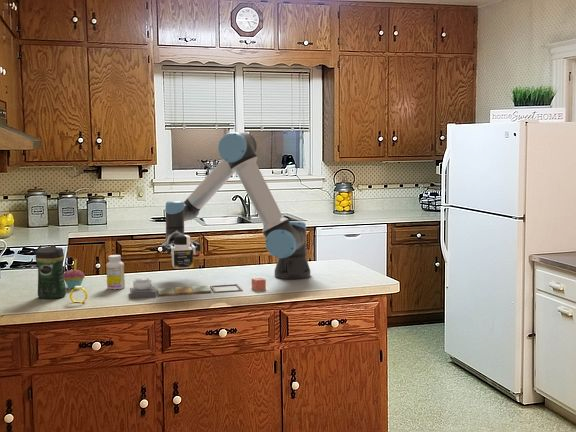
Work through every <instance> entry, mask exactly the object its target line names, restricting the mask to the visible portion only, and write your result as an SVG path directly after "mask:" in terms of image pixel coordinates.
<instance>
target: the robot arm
mask: <svg viewBox="0 0 576 432" xmlns="http://www.w3.org/2000/svg"><path fill="white" fill-rule="evenodd" d="M218 142H219V143H218V147H217V148H218V149H217V150H218V154H219V156H220V157H221V158H222V159H221V161H219V163H217V165H216V166H215V167H214V168H213V169H212V170H211V171H210V172H209V173H208V175H207V176H205V178H204V179H203V180H202V181H201V182H200V184H198V186H196V188H195V189H194V190H193V191H192V192H191V193H190V194H189V196H188V197H187V198H185V200H184V201H182V200H168V201H166V202H165V210H164V212H165V239H164V240H165V241H162V242H161V252H162V253H167V255H171V257H172V256H174V248H173V247H175V246H174V236H176V235H185V222H187V221H192V220H194V219H195V218H197V217H198V215H199V214H200V211H201V210H202V208H204V206H205V205H206V204H207V203H208V202H209V201H210V200H211V199H212V197H214V196H215V194H216V193H218V191H220V189H221V188H222V187H223V186H224V185H225V184H226V182H227V181H229V179H230V178H232V176H233V175H234V174H235V173H236V174H237V176H238V177H239V180H240V182H241V184H242V186H243V188H244V189H245V191H246V193H247V196H248V197H249V200H250V201H251V202H250V203H251V205H252V206H253V208H254V209H255V211H256V213H257V215H258V218H259V220H260V222H261V224H262V225H263V226H262V227H263V228H262V230H261V231H262V235H263V236H264V239H265V248H266V250H267V252H268V253H269V254H270V255H271V256H272V257H274V258H277V262H276V265H275V268H274V277H275V278H278V279H283V280H301V279H307V278H310V277H311V269H310V265H309V262H308V259H307V224H306V222H303V221H290V219H289V218H287V217H285V216H283V214H282V212H281V210H280V208H279V206H278V204H277V202H276V200H275V198H274V196H273V194H272V192H271V190H270V188H269V186H268V183H267V182H266V180H265V178H264V176H263V174H262V172H261V170H260V168H259V166H258V163H257V161H258V159H259V158H258V155H257V154H256V153H257V150H258V144H257V140H256V139H255V137H254V136H253V135H252V134H251V133H248V132H245V131H243V132H242V131H241V132H240V131H239V132H238V131H232V132H227V133H226V134H224V135H223V136H222V137H221V138H220V140H219V141H218ZM190 247H191V248H192V249H193V256H194V255H196V252H200V251H201V248H202V247H201V243H199V242H198V241H197V240H193V241H191V242H190Z"/></svg>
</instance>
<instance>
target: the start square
mask: <svg viewBox="0 0 576 432" xmlns="http://www.w3.org/2000/svg"><path fill="white" fill-rule="evenodd" d="M231 286H232V287H233V286H236V287H237V288H238V289H232V290H231V289H230V290H215V289H214V288H218V287H219V288H220V287H231ZM209 287H210V290H212V292H213V293H214V294H216V293H218V294H219V293H231V292H233V293H234V292H243V288H241V286H240V285H239V284H238V283H234V284H232V283H231V284H217V285H210V286H209Z"/></svg>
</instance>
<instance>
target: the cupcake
mask: <svg viewBox="0 0 576 432" xmlns="http://www.w3.org/2000/svg"><path fill="white" fill-rule="evenodd" d="M77 261H78V260H77V259H74V266H73V267H74V269H68V270H67V271H63V274H64V281H65V285H66V288H68V289H69V288H74V287H75V286H82V283H83V281H84V279H85V277H86V276H85V273H84V272H83V271H82V270H80V269H77Z"/></svg>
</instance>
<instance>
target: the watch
mask: <svg viewBox="0 0 576 432" xmlns="http://www.w3.org/2000/svg"><path fill="white" fill-rule="evenodd" d="M75 290H81V291H83V293H84V296H85V298H84V300H82V301H81V300H79V301H76V300H75V299H74V298H73V292H74V291H75ZM88 296H89V295H88V291H87V290H86V288H84V287H83V286H82V285H81V286H75V287H74V289H71V291H69V299H70V300H71V302H72V303H74V302H80V303H79V304H83V303H85V301H87V299H88Z"/></svg>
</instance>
